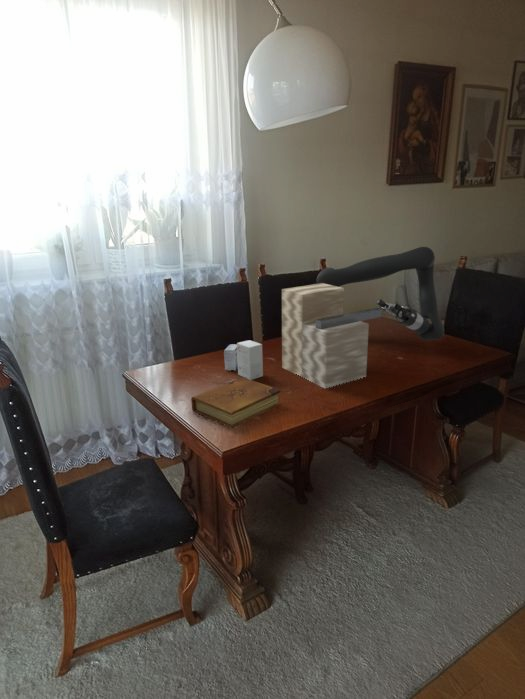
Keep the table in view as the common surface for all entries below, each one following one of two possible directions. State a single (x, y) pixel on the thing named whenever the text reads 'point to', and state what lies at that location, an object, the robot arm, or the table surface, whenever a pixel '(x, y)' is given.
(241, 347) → the small box
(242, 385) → the diary
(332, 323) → the bar
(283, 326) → the stand
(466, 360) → the table surface
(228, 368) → the medicine box
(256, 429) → the table surface
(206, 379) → the table surface
